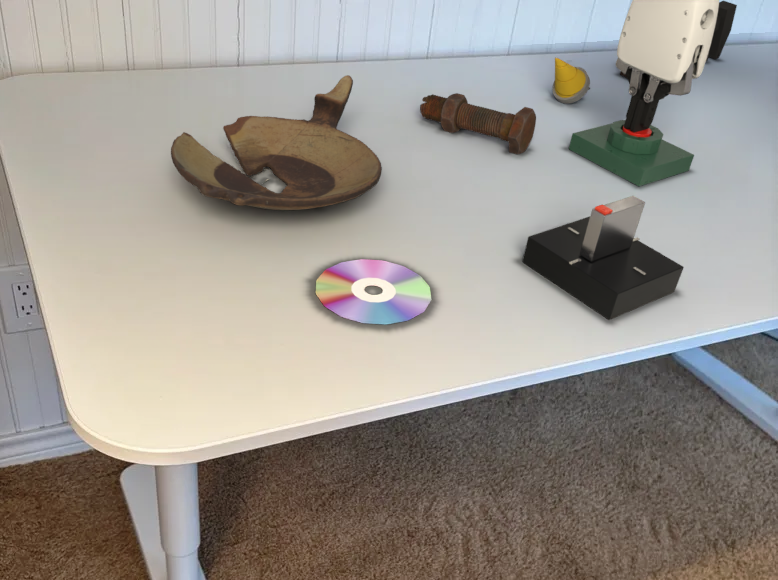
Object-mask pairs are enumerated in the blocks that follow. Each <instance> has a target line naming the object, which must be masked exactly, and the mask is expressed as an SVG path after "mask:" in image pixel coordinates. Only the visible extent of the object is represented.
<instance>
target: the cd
mask: <svg viewBox="0 0 778 580" xmlns="http://www.w3.org/2000/svg"><path fill="white" fill-rule="evenodd" d="M370 286H376V287H379V288H380V289H381V290H382V292H381V293H379V294H370V293H368V292H367V291H366V290H365V289H366V288H367V287H370ZM315 295H316V296H317V298H318V299H319V301H320V302H321V304H322V306H323V307H325V308H326V309H328V310H330V311H331V312H333V313H334V314H335V315H338V317H341V318H344V319H347V320H350V321H353V322H358V323H361V324H370V325H371V324H373V325H391V324H396V323H397V324H398V323H402V322H407V321H408V322H409V321H410V320H412V319H413V318H415V317H417V316H419V315H421V314H423V313H425V311H426V309H427V308H428V307H429V304H430V303H431V302H432V294H431V287H430V285H429V284H428V283H427V282H426V281H425V279H424V278H423V277H422V276H421V275H420V274H418V273H417V272H414V270H412V269H410V268H408V267H406V266H404V265H401V264H398V263H395V262H394V263H393V262H391V261H386V260H384V259H383V260H381V259H367V258H360V259H353V260H347V261H342V262H339V263H337V264H335V265H333V266H330V267H328V268H326V269H325V270H324V271H323V272H322V273H321V274H320V275H319V276H318V277H317V279H316V281H315Z"/></svg>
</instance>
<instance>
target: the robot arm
mask: <svg viewBox="0 0 778 580" xmlns="http://www.w3.org/2000/svg"><path fill="white" fill-rule="evenodd" d="M719 2H720V0H631V3H630V6H629V8H628V11H627V14H626V17H625V19H624V22H623V25H622V29H621V32H620V35H619V39H618V42H617V43H618V44H617V47H616V57H617V59H616V61H615V67H616V68H617V69H618V70H619V72H620V71H621V72H623V73H624V74H626V77H627V78H626V77H625V78H626V79H627V82H628V85H629V87H628V93H629V95H630V96H631V97H630V101H629V104H628V107H627V111H626V115H625V120H626V121H625V124H624V128H626V129H630V130H631V131H632V132H634V133H635V132H638V131H642V130H646V129H648V128H649V127H650V125H652V123H653V121H654V118H655V116H656V112H657V108H658V106H659V103H660V100H664V99H665V98H666V97H668V96H669V95H671V96H680V97H681V96H685V95H688V94H690V93H691V89H692V83H693V82H692V81H693V80H696V79H699V78H700V76H701V75H702V73H703V71H704V68H705V65H706V62H707V61H706V59H707V56H708V52H709V49H710V45H711V41H712V37H713V33H714V29H715V25H716V20H717V14H718V8H719Z"/></svg>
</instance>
